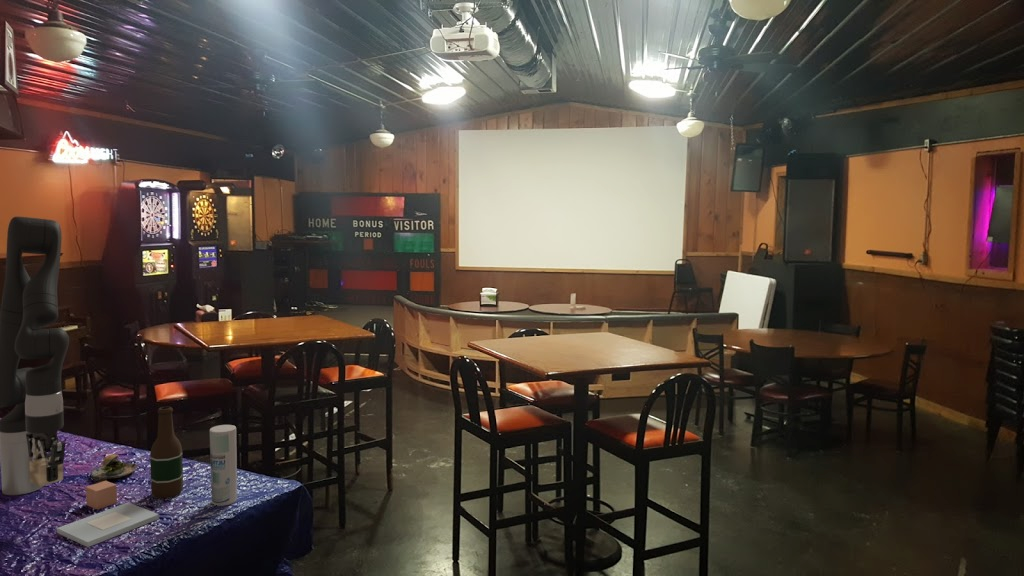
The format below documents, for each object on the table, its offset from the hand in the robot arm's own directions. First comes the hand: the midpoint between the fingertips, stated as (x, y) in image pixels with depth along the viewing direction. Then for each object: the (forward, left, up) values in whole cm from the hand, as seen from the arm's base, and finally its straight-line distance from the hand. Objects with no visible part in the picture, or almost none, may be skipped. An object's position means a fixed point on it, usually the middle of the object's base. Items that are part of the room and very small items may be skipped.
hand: (46, 477), depth 161 cm
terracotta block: (0, +13, -11) cm, 17 cm away
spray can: (+25, +31, -11) cm, 41 cm away
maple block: (0, 0, -1) cm, 1 cm away
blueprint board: (+14, +7, -11) cm, 19 cm away
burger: (-17, +26, -12) cm, 33 cm away
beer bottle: (+8, +26, -11) cm, 29 cm away
